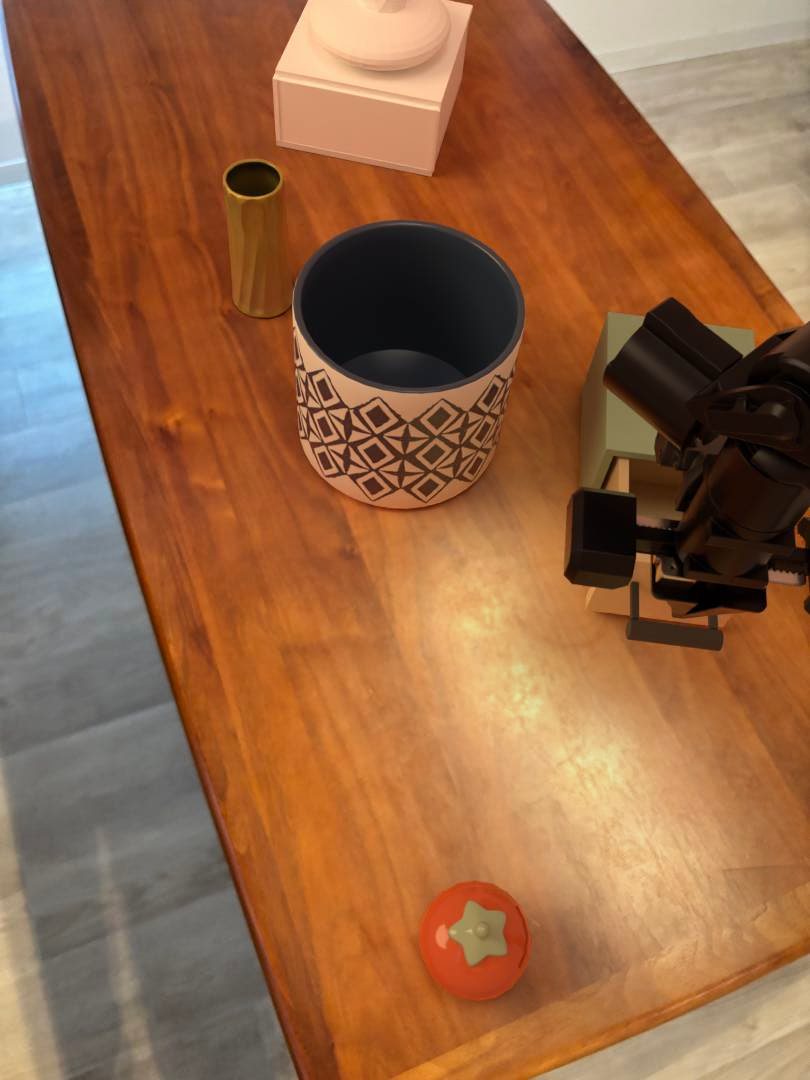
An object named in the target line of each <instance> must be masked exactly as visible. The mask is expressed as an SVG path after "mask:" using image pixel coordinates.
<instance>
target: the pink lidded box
mask: <svg viewBox="0 0 810 1080" xmlns="http://www.w3.org/2000/svg"><path fill="white" fill-rule="evenodd" d="M473 5H474V4H470V3H469V4H468V3H464V2H458V1H453V0H307V2H306V4H305V6H304V8H303V11H302V12H301V15H300V17H299V19H298V21H297V23H296V25H295V27H294V29H293V31H292V32H291V33H292V34H291V36H290V38H289V40H288V42H287V44H286V45H285V48H284V50H283V53H282V55H281V56H280V58H279V60H278V63H277V64H276V67H275V69H274V70H275V71H274V72H275V73H274V74H273V77H272V78H271V81H272V97H273V113H274V128H275V129H274V130H275V131H274V132H275V142H276V143H275V145H276V146H277V147H281V148H287V149H292V150H295V151H301V152H307V153H310V154H317V155H321V156H326V157H331V158H336V159H341V160H347V161H352V162H355V163H360V164H365V165H369V166H370V165H371V166H375V167H381V168H385V169H391V170H395V171H399V172H400V171H401V172H404V173H405V172H406V173H411V174H415V175H420V176H425V177H431V178H432V177H433V173H434V172H435V169H436V168H435V167H436V164H437V160H438V158H439V154H440V151H441V148H442V144H443V141H444V138H445V134H446V132H447V128H448V125H449V122H450V118H451V115H452V113H453V110H454V106H455V103H456V99H457V97H458V93H459V90H460V87H461V84H462V81H463V73H464V64H465V58H466V57H465V56H466V48H467V40H468V33H469V23H470V19H471V16H472V13H473V7H474V6H473Z"/></svg>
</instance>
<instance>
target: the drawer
mask: <svg viewBox="0 0 810 1080" xmlns="http://www.w3.org/2000/svg"><path fill="white" fill-rule="evenodd" d="M682 480H683V478H682V473H681V471H675V470H674V469H672V468H665V467H658V465H657V462H656V461H651V460H643V459H636V458H628V457H620V456H613V459H612V461H611V463H610V466H609V468H608V471H607V473H606V476H605V478H604V480H603V483H602V485H601V488H600V489H604V490H612V491H619V492H626V493H633V494H634V495H635V496H636V497H637V515H642V516H650V517H657V518H665V519H672V520H679V521H681V519H682V517H683V512H679V511H675V493H676V492H677V490H678V488H679V486H680V484H681V482H682ZM584 610H585V611H589V612H598V613H607V614H614V615H622V616H628V617H629V618H628V619H627V621H626V626H625V639H626V640H629V641H636V642H643V643H650V644H659V645H667V646H673V647H681V648H682V647H683V648H689V649H698V650H705V651H713V652H720V651H721V650H722V649H723V646H724V640H725V637H724V635H725V634H724V632H723V630H721V629H719V628H724V627H725V626H726V625H727V623H728V621H730V619H731V617H732V616H733V615H734V614H721V615H712V616H703V617H694V618H686V619H681V618H673V617H672V609H671V607H670V606H669V604H668V603H667V602H666V601H662V600H657V599H655V598H654V597H653V596H652V595H651V592H650V555H649V554H641V553H636V562H635V567H634V572H633V577H632V579H631V581H630V583H629V585H628V586H625V587H621V588H617V589H614V590H611V589H604V588H596V587H589V588H588V591H587V593H586V594H585V597H584ZM640 618H643V619H640ZM644 618H645V619H644ZM646 619H654V620H661V621H669V622H677V623H684V624H692V625H699V626H700V625H701V626H707V627H708V628H706V627H699V626H692V625H684V624H676V623H669V622H661V621H653V620H646Z"/></svg>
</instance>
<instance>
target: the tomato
mask: <svg viewBox="0 0 810 1080" xmlns="http://www.w3.org/2000/svg"><path fill="white" fill-rule="evenodd" d="M418 940H419V941H418V942H419V947H420V954H421V958H422V961H423V963H424V965H425V968H426V969H427V971H428V973H429V976H431V978H432V979H433V980H434V981H435V982H436V983H437V984H438V985H439V986H440V987H441V988H442V989H443V990H445V991H446V992H448V993H450V994H451V995H453V996H455V997H457V998H459V999H463V1000H470V1001H475V1002H479V1001H480V1002H481V1001H487V1000H492V999H493V1000H494V999H496V998H498V997H500V996H501V995H503V994H505V993H507V992H508V991H510V990H511V989H512V988H513V987H514V986H515V985H516V984H517V982H519V980H520V979H521V978H522V977H523V976H524V973H525V971H526V968H527V966H528V963H529V961H530V957H531V949H532V948H531V947H532V935H531V930H530V924H529V920H528V918H527V916H526V914H525V912H524V910H523V909H522V906H521V904H520V903H519V902H518V901H517V900H516V899H515V898H513V896H512V895H511V894H510V893H509V892H508V891H506V890H505V889H503V888H501V887H499V886H498V885H495V884H494V883H491V882H487V881H481V880H468V881H462V882H457V883H455V884H453V885H452V886H449V887H447V888H446V889H444V890H442V891H441V892H440V893H439V894H438V895H436V897H435V898H434V899H433V900H432V901H431V902H430V903H429V905H428V906H427V908H426V911H425V912H424V915H423V917H422V918H421V924H420V930H419V937H418Z"/></svg>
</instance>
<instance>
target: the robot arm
mask: <svg viewBox="0 0 810 1080" xmlns="http://www.w3.org/2000/svg"><path fill="white" fill-rule="evenodd" d="M644 316H645V319H644V321H643V324H642V326H641V327H639V329H638V330H637V331H636V332H635V333H634V334H633V335H632V336H631V337H630V338H629V340H628V341H627V342H626V343H625V344H624V346H623V347H622V348H621V350H620V351H619V353H618V354H617V356H616V357H615V359H613V360H612V361H610V362H609V364H608V365H607V366H606V369H605V371H604V375H603V379H602V380H603V385H604V386H605V387H606V388H607V389H608V390H610V391H611V392H612V393H613V394H614V395H615V396H617V397H618V398H619V399H620V400H621V401H623V402H624V403H625V404H626V405H627V406H629V407H630V408H631V409H632V410H633V411H634V412H636V413H637V414H638V415H639V416H640V417H642V418H643V419H644V420H645V421H646V422H648V423H649V424H650V425H651V426H652V427H653V428H655V429H656V430H657V431H658V432H657V435H656V438H655V444H654V450H655V456H656V462H657V465H658V467H665V468H672V469H674V470H675V471H681V473H682V478H683V480H682V482H681V484H680V486H679V488H678V490H677V492H676V493H675V511H679V512H683V517H682V519H681V521H679V520H672V519H665V518H657V517H650V516H642V515H637V497H636V496H635V495H634V494H633V493H626V492H619V491H612V490H604V489H597V488H589V487H582V486H581V487H580V488H579V487H578V489H576V490H575V491H574V492H573V493H572V494H571V496H570V498H569V501H568V504H567V507H566V517H565V519H566V520H565V521H566V522H565V536H564V540H565V541H564V557H563V559H564V560H563V577H565V579H566V580H567V581H568V582H569V583H570V584H571V585H577V586H582V587H589V588H590V587H596V588H604V589H611V590H614V589H617V588H621V587H625V586H628V585H629V583H630V581H631V579H632V577H633V572H634V567H635V562H636V553H641V554H649V555H650V592H651V595H652V596H653V597H654V598H655V599H657V600H662V601H666V602H667V603H668V604H669V606H670V607H671V609H672V617H673V618H681V619H686V618H694V617H703V616H712V615H721V614H733V615H735V614H748V613H749V614H761V613H763V612H764V611H765V610H766V609H767V607H768V596H767V595H768V593H767V587H768V586H769V584H773V585H781V586H789V587H795V588H803V587H805V586H806V584H807V582H808V591H809V593H810V517H809V516H804V515H805V514H806V513H807V512H808V510H809V509H810V320H808V321H807V322H806V323H805V324H803V325H800V326H796V327H792V328H788V329H783V330H779V331H776V332H775V333H773V334H771V336H770V337H768V338H767V339H766V340H764V341H763V342H761V344H759V345H758V346H756V347H755V349H754V350H753V351H751V352H750V353H749V354H747V355H746V356H745V357H744V358H743V354H741V353H740V352H739V351H737V350H736V349H735V348H734V347H732V346H731V345H730V344H728V343H727V342H726V341H725V340H723V339H722V338H721V337H719V336H718V335H717V334H716V333H714V332H713V331H712V330H710V329H709V328H708V327H707V326H705V325H704V324H705V323H703V322H702V321H700V320H699V319H698V318H697V317H696V316H695V315H694V314H693V312H692V311H691V310H690V309H689V308H688V307H686V306H685V305H684V304H683V303H681V302H680V301H679V300H677V299H676V298H675V297H674V296H668V297H667V298H665V299H664V300H663V301H661V302H660V303H658V304H656V305H655V306H654V307H652V308H651V309H649V310H648V311H647V312H646V313H645V315H644ZM795 527H796V530H797V534H798V535H799V536H800V537H801V538H802V539H803V540H804V547H799V546H797V543H796V541H797V540H796V533H795V532H796V531H795ZM807 580H808V581H807ZM803 609H804V611H805V612H806V613H807V614H808V615H809V616H810V594H808V595H807V597H806V598H805V599H804V600H803Z"/></svg>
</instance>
